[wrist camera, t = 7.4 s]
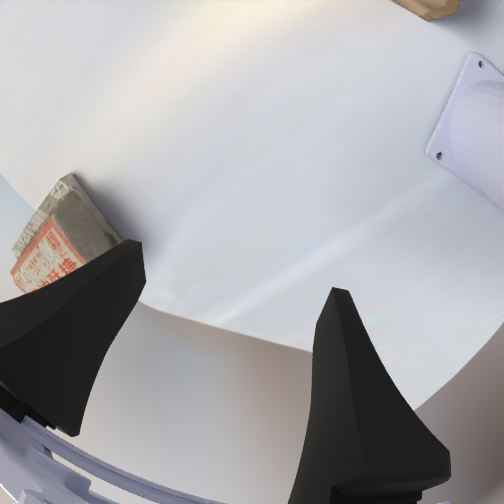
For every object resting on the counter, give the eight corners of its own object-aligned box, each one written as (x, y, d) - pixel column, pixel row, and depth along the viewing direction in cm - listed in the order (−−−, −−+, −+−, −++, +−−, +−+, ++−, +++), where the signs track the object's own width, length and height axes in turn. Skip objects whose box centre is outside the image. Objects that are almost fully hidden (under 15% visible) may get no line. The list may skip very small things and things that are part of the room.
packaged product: (35, 191, 17) (113, 289, 22) (73, 166, 21) (140, 253, 25) (-6, 265, 25) (45, 324, 29) (17, 243, 29) (64, 299, 33)
